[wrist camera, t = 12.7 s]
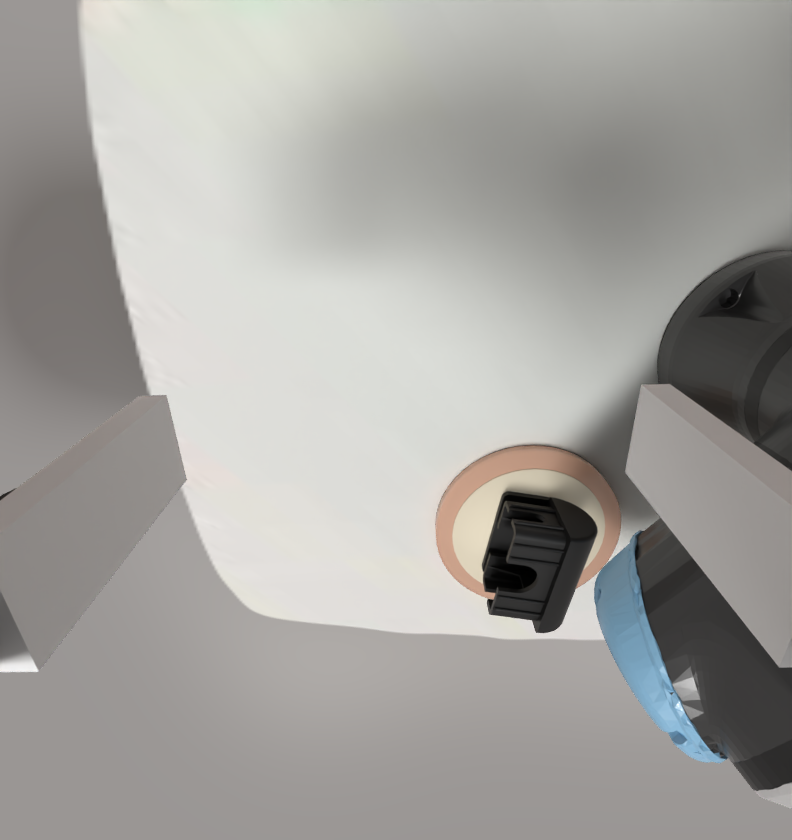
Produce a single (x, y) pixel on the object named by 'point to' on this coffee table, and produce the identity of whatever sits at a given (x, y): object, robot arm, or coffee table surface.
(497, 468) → the plate
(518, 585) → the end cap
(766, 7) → the coffee table surface
